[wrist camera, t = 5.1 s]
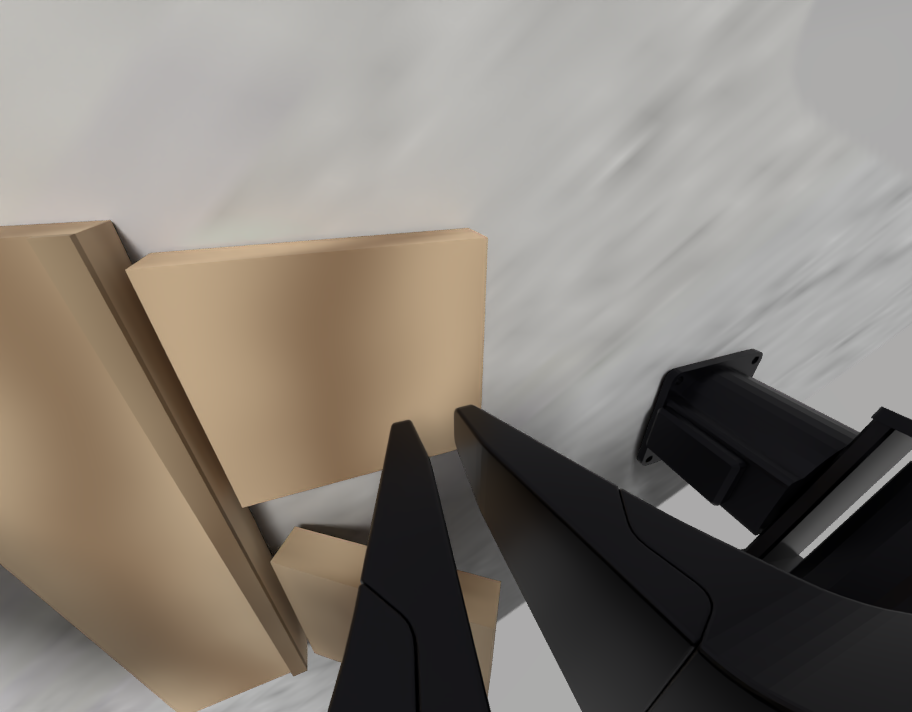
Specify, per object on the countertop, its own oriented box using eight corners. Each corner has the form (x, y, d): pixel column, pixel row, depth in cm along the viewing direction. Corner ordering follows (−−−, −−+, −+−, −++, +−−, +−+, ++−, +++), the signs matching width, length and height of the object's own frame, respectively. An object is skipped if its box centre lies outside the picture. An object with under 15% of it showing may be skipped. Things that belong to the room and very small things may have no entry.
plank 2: (500, 581, 12) (494, 628, 11) (491, 671, 16) (485, 713, 15) (294, 526, 14) (269, 562, 12) (331, 619, 17) (314, 653, 16)
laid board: (110, 220, 8) (69, 235, 6) (307, 630, 18) (307, 670, 16) (-233, 239, 6) (-383, 264, 5) (191, 674, 16) (181, 723, 15)
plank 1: (468, 228, 11) (487, 237, 9) (466, 420, 14) (479, 443, 13) (150, 252, 8) (125, 269, 7) (248, 474, 12) (242, 507, 11)
